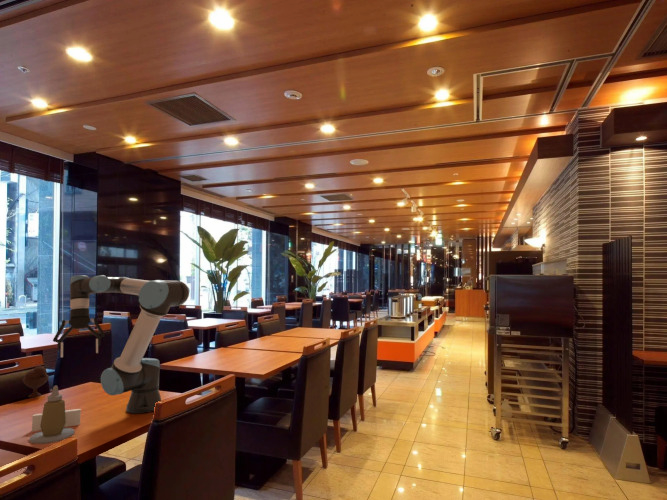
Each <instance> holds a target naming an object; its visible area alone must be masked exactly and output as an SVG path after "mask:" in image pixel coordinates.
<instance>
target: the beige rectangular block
mask: <svg viewBox="0 0 667 500" xmlns="http://www.w3.org/2000/svg"><path fill="white" fill-rule="evenodd" d="M81 410H82V409H81V408H76V409H74V408H73V409H68V410H66V409H65V416H66V423H65V426H64V428H69V427H74V426H80V424H81V413H82V411H81ZM42 414H43V412H42V413H35V414H33V415H32V421H31V422H32V424H31V432H40V431H42V430H41V427H40V425H41V419H42Z"/></svg>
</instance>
